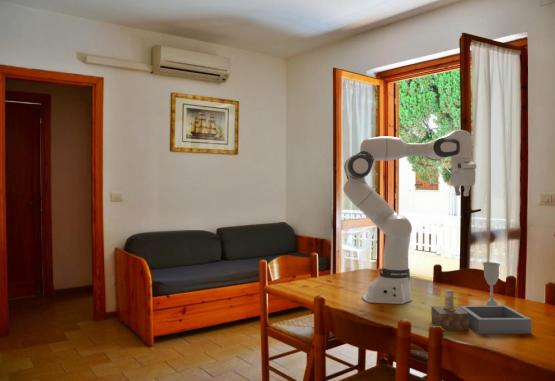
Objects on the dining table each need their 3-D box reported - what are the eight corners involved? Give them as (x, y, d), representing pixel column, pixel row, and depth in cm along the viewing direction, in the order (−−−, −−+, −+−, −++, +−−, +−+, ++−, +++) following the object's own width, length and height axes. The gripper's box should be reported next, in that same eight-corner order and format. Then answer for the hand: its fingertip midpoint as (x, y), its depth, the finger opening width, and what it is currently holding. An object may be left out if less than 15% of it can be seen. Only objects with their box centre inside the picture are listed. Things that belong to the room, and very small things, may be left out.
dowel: (446, 327, 161) (446, 291, 161) (444, 324, 164) (443, 289, 164) (455, 327, 161) (454, 291, 161) (452, 324, 164) (451, 289, 164)
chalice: (479, 303, 193) (479, 262, 193) (494, 302, 193) (493, 262, 193) (489, 307, 186) (488, 265, 186) (504, 307, 186) (503, 264, 186)
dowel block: (440, 330, 158) (440, 313, 158) (431, 321, 168) (431, 306, 168) (468, 330, 157) (468, 313, 157) (458, 321, 167) (457, 306, 167)
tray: (479, 333, 153) (478, 319, 153) (459, 318, 171) (459, 305, 171) (531, 333, 153) (531, 319, 153) (506, 318, 171) (506, 305, 171)
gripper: (446, 166, 211) (446, 195, 211) (463, 164, 191) (463, 196, 191) (459, 166, 211) (460, 195, 211) (478, 164, 190) (478, 196, 190)
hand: (461, 195), depth 201 cm, fingers open, 8 cm apart
